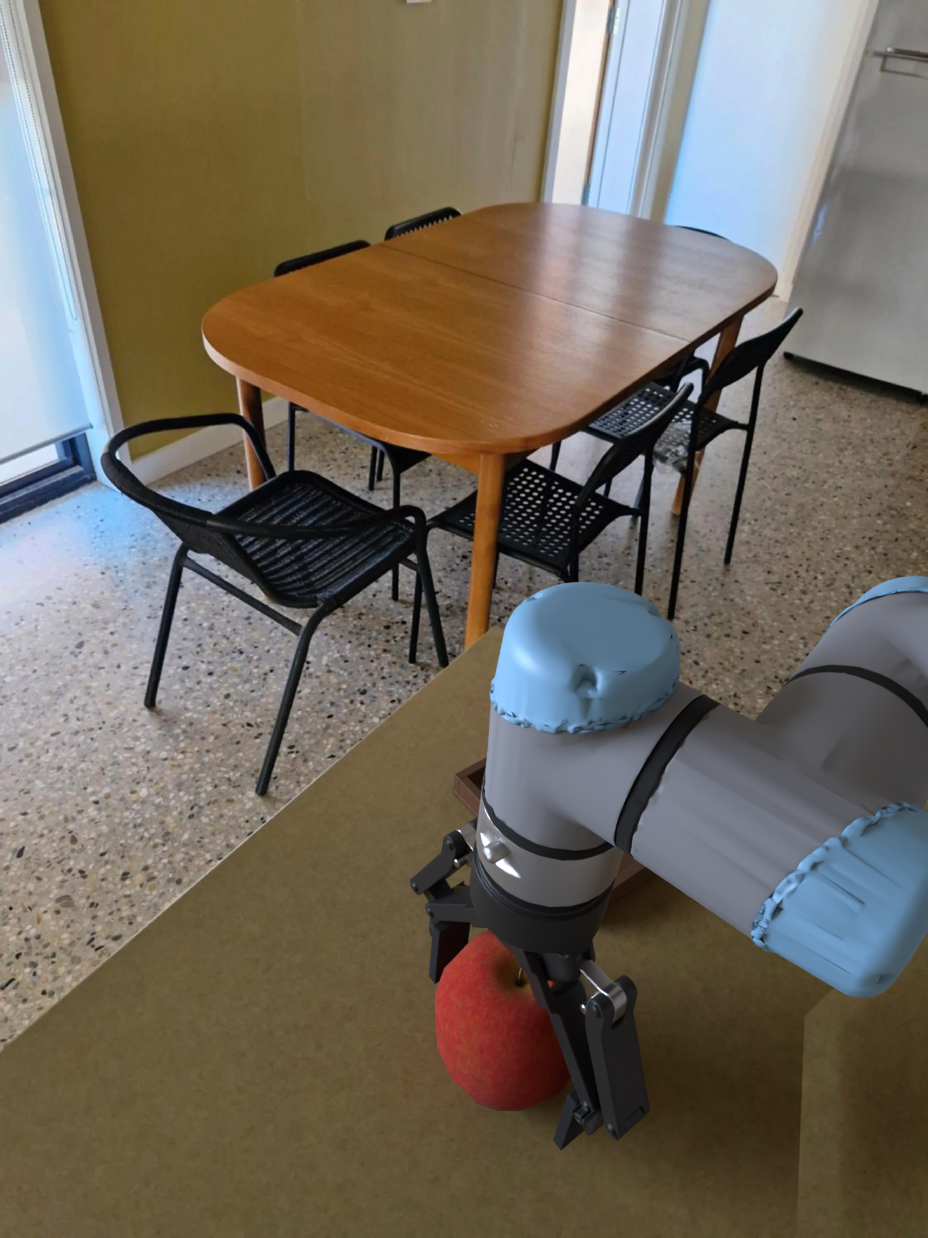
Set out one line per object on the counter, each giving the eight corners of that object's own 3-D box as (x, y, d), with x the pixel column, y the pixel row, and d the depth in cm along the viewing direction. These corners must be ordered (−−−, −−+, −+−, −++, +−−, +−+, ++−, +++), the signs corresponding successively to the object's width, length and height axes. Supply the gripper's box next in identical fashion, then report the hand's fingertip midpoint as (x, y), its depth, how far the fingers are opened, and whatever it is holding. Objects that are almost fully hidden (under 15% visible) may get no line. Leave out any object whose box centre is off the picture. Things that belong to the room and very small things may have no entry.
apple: (457, 976, 66) (471, 864, 58) (588, 1023, 64) (623, 914, 55) (406, 1114, 59) (412, 1009, 50) (553, 1173, 56) (587, 1073, 48)
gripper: (357, 735, 51) (359, 938, 65) (675, 1097, 37) (592, 1262, 50) (460, 686, 55) (442, 887, 69) (785, 996, 41) (681, 1174, 54)
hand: (505, 1046), depth 59 cm, fingers open, 12 cm apart
